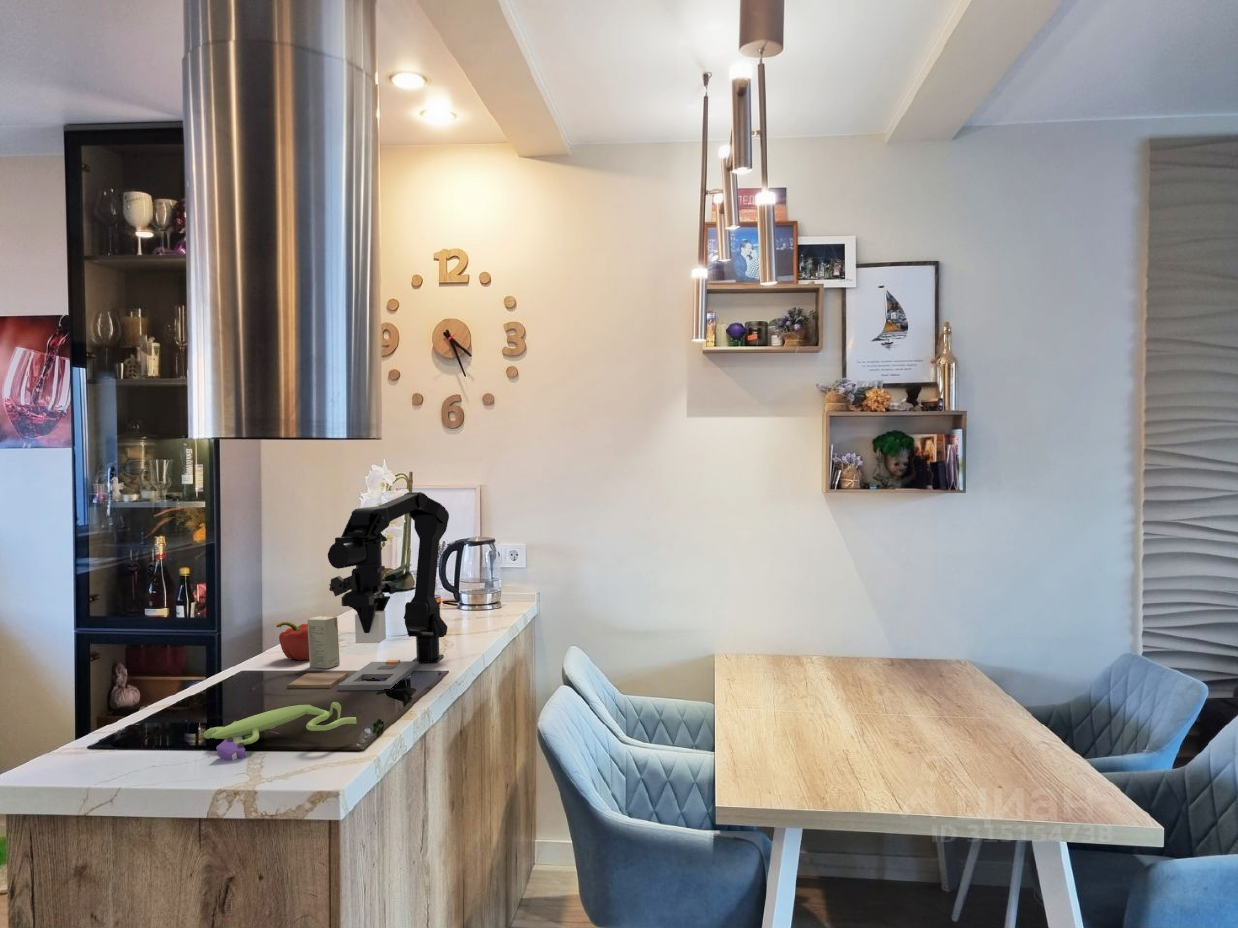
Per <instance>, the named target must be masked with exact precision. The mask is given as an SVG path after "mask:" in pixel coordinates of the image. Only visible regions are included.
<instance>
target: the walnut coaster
mask: <svg viewBox="0 0 1238 928" xmlns="http://www.w3.org/2000/svg"><path fill="white" fill-rule="evenodd" d="M348 675H349V674H348V672H322V673H321V672H319V673H318V672H312V673H311V672H308V673H305V674H303V675H301V676H299V677H298V678H296V679H295V680H293V681H291V682H290V683H288V684H287V685H286V689H331V688H332V687H334V686H337V685H338V684H340V683H341V681H342V682H343V681H344V680H346V679H347V678H348V677H349V676H348Z"/></svg>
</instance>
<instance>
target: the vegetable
mask: <svg viewBox="0 0 1238 928" xmlns="http://www.w3.org/2000/svg"><path fill="white" fill-rule="evenodd" d="M282 626H287V627H290V628H287V629H286V630H285V631H282V632H280V633H279V637H278V641H279V644H280V647H281V650H282V653H283V654H284V655H285V657H286V658H287V659H289V660H298V661H304V659H305V660H308V659H309V641H308V623H302V624H299V625H298V626H297V625H296V624H295V623H292V622H289V621H283V622H280V623H278V624H277V625H276V628H281V627H282Z"/></svg>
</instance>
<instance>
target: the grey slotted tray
mask: <svg viewBox="0 0 1238 928" xmlns="http://www.w3.org/2000/svg"><path fill="white" fill-rule="evenodd" d="M419 667H420V663H419V661H412V660H410V661H404V660H402V661H401V659H388V660H386V661H371V662H369V663H367V664H366V665H364V666H363V667H362V668H361V669H359V670H357V671H356V672H354V673H353V674H351V675H350V676H348V677H346V678H345V679H343V680H342V682H341V681H340V682H339V683H338V684H337V691H385V690H384V689H391V688H392V687H393V686H394V685H395V684H397V683H398V682H399V681H400V680H401V679H403V678H404V679H406V678H407V677H408V676H409V675H411V673H413V672H414V671H416V669H418V668H419ZM372 678H375V679H374V680H376V681H374V680H373V679H372ZM377 678H388V679H385V681H383V680H379V681H377V680H378V679H377ZM404 679H403V680H404ZM363 680H365V681H363ZM366 680H368V681H366ZM369 680H371V681H369ZM372 680H373V681H372ZM398 684H399V683H398ZM398 684H397V685H398ZM392 689H393V688H392ZM392 689H391V690H392Z"/></svg>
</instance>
